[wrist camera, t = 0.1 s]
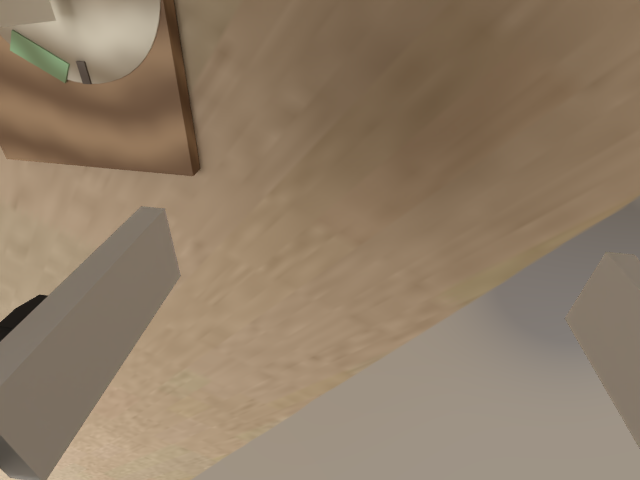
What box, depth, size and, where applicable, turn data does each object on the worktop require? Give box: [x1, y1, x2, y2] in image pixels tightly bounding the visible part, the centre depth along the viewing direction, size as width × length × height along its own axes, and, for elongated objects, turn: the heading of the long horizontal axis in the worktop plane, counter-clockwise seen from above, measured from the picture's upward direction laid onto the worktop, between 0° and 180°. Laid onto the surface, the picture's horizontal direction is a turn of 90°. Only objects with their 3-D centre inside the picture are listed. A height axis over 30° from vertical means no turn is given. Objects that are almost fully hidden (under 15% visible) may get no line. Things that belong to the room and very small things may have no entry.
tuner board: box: [0, 0, 200, 176], centre depth 33 cm, size 30×22×2 cm
